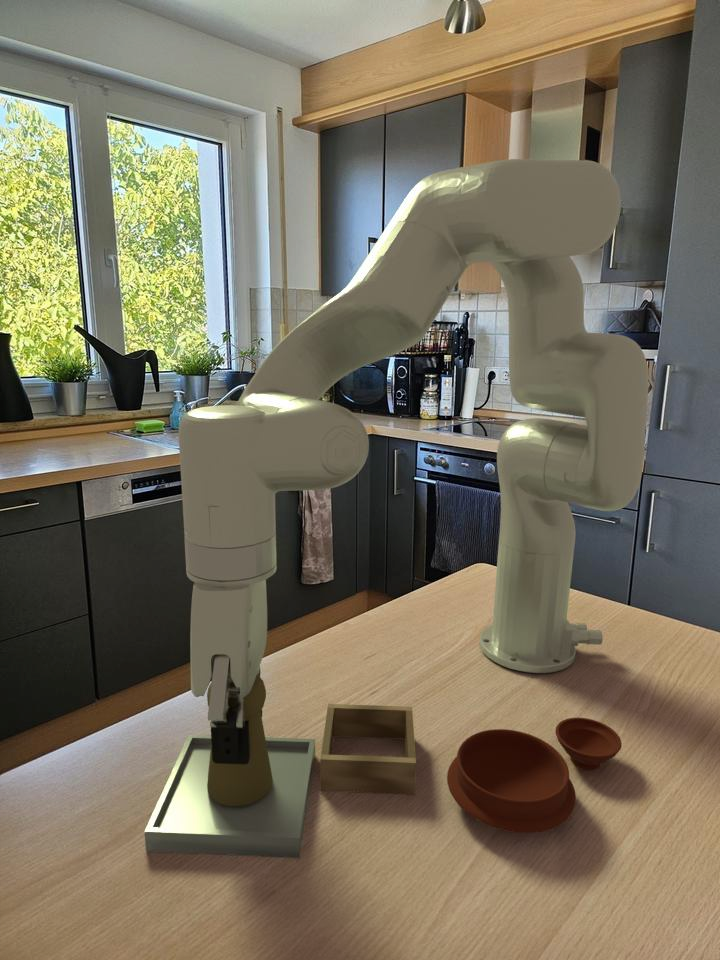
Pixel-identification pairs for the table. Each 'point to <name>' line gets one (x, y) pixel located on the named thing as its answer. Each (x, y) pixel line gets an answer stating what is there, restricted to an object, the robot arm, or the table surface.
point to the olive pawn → (255, 777)
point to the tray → (234, 829)
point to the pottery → (526, 774)
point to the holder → (368, 770)
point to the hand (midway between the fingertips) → (238, 738)
